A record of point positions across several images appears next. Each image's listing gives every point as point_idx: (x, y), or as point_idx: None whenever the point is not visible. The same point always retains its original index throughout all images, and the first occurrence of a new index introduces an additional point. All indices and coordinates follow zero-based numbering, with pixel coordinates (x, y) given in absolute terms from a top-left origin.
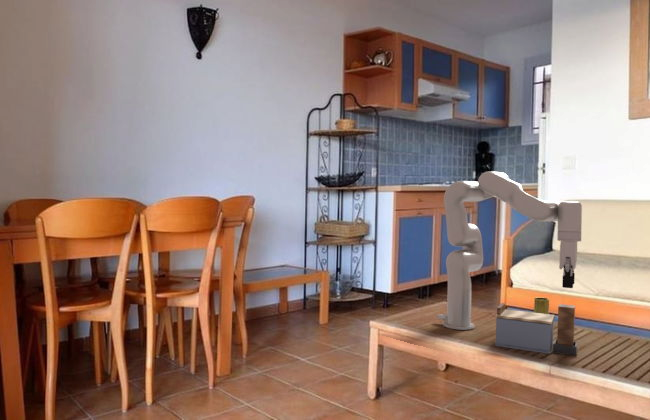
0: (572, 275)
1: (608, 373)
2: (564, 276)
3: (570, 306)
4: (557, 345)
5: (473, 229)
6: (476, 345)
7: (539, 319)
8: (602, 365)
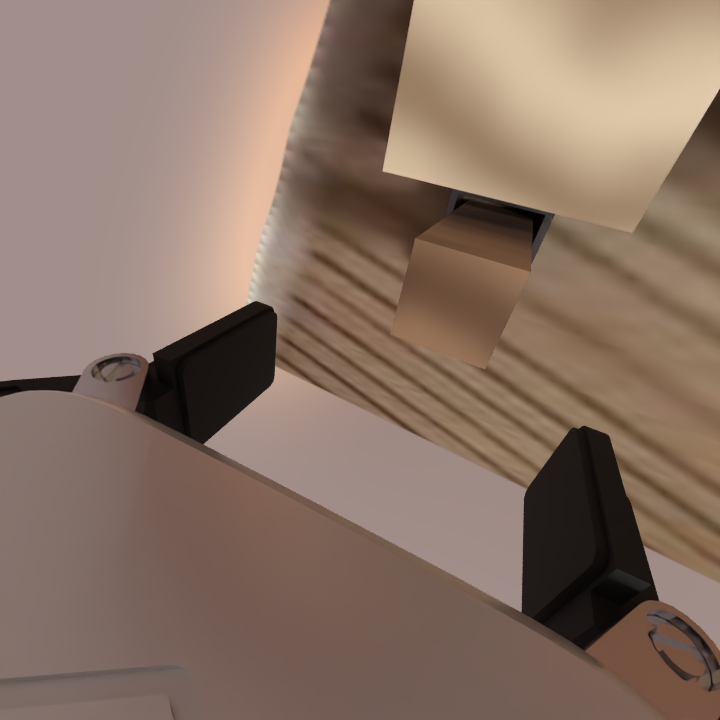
0: (529, 583)
1: (291, 308)
2: (162, 369)
3: (440, 328)
4: (449, 202)
5: None
6: None
7: (431, 84)
8: (353, 318)
